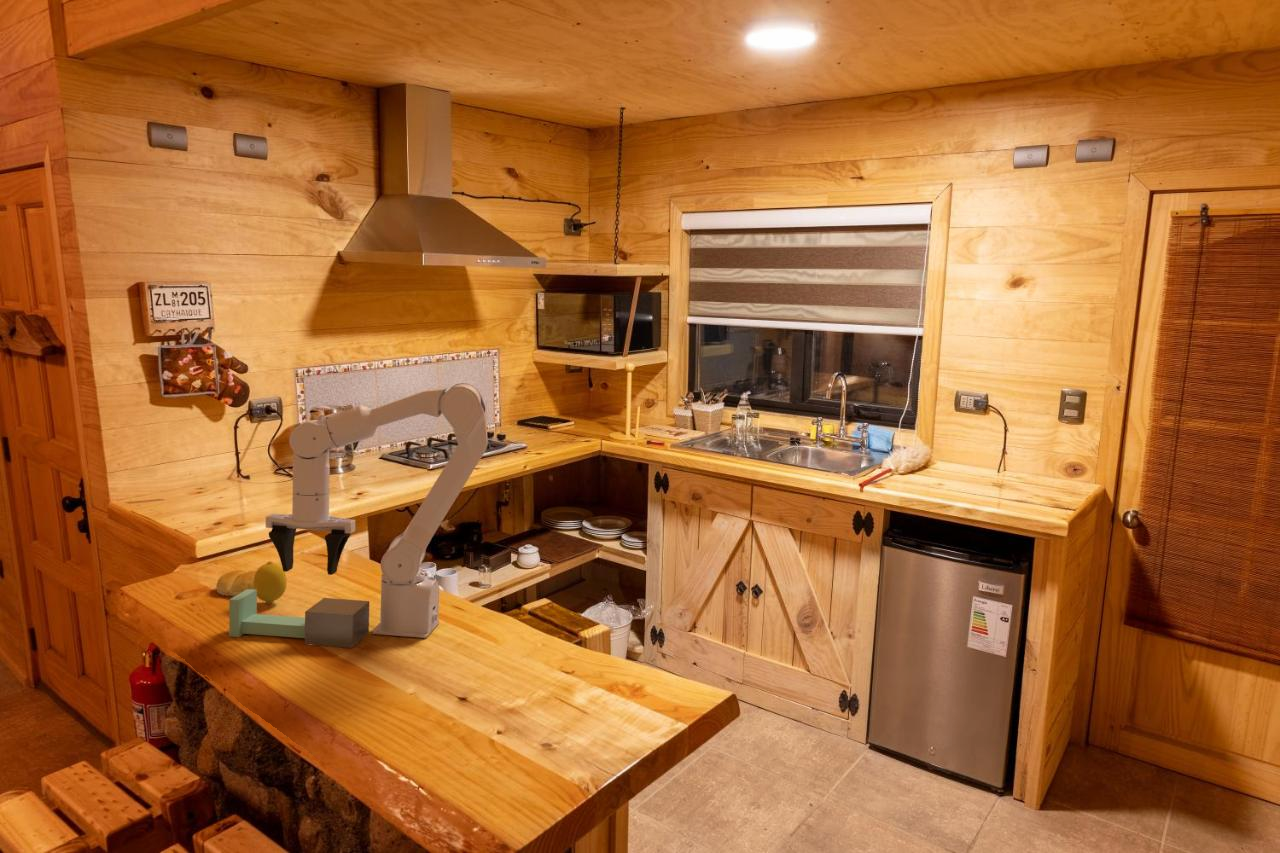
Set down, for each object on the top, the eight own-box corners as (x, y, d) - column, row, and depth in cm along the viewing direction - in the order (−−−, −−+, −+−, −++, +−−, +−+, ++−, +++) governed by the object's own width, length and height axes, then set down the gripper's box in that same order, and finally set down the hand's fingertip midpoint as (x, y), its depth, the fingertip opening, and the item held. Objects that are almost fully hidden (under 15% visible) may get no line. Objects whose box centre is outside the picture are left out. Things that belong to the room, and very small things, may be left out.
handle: (320, 629, 137) (320, 594, 137) (304, 642, 132) (305, 605, 131) (241, 623, 138) (241, 588, 137) (223, 635, 133) (223, 599, 132)
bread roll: (236, 582, 160) (236, 563, 160) (275, 588, 158) (276, 568, 158) (204, 595, 152) (204, 574, 152) (246, 601, 150) (246, 580, 150)
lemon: (292, 600, 151) (292, 558, 150) (276, 610, 146) (276, 566, 145) (263, 597, 152) (264, 556, 151) (246, 607, 146) (247, 564, 145)
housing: (368, 632, 138) (369, 601, 137) (352, 648, 131) (352, 615, 130) (323, 629, 138) (324, 597, 138) (304, 644, 131) (305, 611, 131)
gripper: (363, 490, 139) (361, 567, 141) (280, 485, 140) (279, 561, 141) (346, 498, 132) (344, 579, 134) (259, 492, 133) (258, 573, 134)
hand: (310, 571), depth 137 cm, fingers open, 7 cm apart
